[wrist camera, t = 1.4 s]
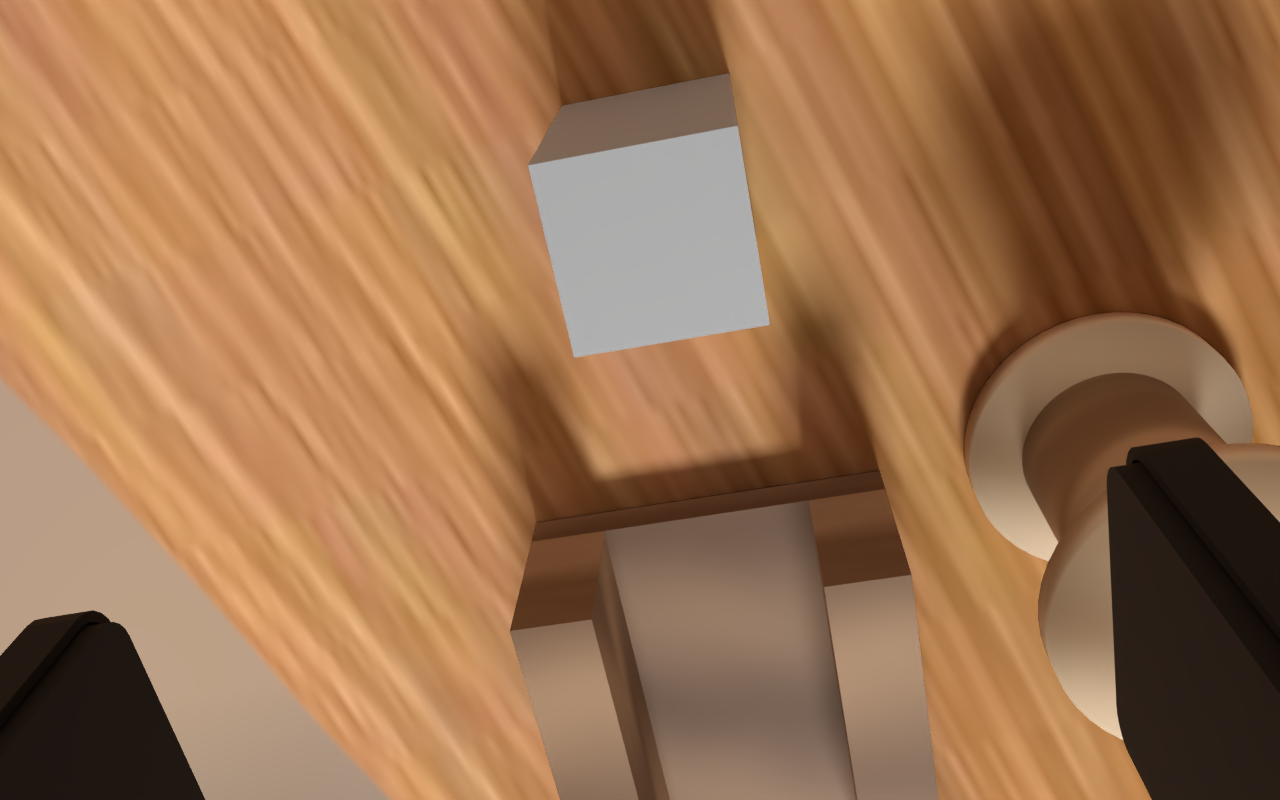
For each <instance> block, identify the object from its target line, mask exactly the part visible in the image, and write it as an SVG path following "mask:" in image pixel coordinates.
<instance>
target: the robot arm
mask: <svg viewBox="0 0 1280 800" xmlns="http://www.w3.org/2000/svg"><path fill="white" fill-rule="evenodd" d="M1107 505H1108V528H1109V550H1110V573H1111V595H1112V618H1113V640H1114V662H1115V685H1116V707H1117V716H1118V721H1119V726H1120V730H1121V734H1122V737H1123V740H1124V743H1125V746H1126V748H1127V751H1128V753H1129V755H1130V757H1131V759H1132V761H1133V763H1134V765H1135V767H1136V769H1137V771H1138V773H1139V775H1140V777H1141V779H1142V781H1143V783H1144V785H1145V787H1146V789H1147V791H1148V793H1149V795H1150V797H1151V799H1152V800H1280V522H1279V521H1278V520H1277V519H1276V518H1275V516H1274V515H1273V514H1272V513H1271V512H1270V511H1269V510H1268V509H1267V508H1266V507H1265V506H1264V505H1263V503H1262V502H1261V501H1260V500H1259V499H1258V498H1257V497H1256V496H1255V495H1254V494H1253V493H1252V492H1251V490H1250V489H1249V488H1248V487H1247V486H1246V485H1245V484H1244V483H1243V482H1242V481H1241V480H1240V479H1239V477H1238V476H1237V475H1236V474H1235V473H1234V472H1233V471H1232V470H1231V469H1230V468H1229V467H1228V466H1227V464H1226V463H1225V462H1224V461H1223V460H1222V459H1221V458H1220V457H1219V456H1218V455H1217V454H1216V453H1215V451H1214V450H1213V449H1212V448H1211V447H1210V446H1209V445H1208V444H1207V443H1206V442H1205V441H1204V440H1202V439H1201V438H1189V439H1182V440H1176V441H1170V442H1163V443H1157V444H1150V445H1144V446H1138V447H1131V449H1130V450H1129V451H1128V454H1127V459H1126V465H1122V466H1115V467H1110V469H1109V470H1108V473H1107ZM0 800H205V798H204V796H203V794H202V792H201V790H200V787H199V785H198V783H197V781H196V779H195V777H194V774H193V772H192V770H191V768H190V766H189V764H188V761H187V759H186V757H185V755H184V753H183V751H182V748H181V746H180V744H179V742H178V740H177V738H176V735H175V733H174V731H173V729H172V727H171V725H170V723H169V720H168V718H167V716H166V714H165V712H164V710H163V707H162V705H161V703H160V701H159V699H158V696H157V694H156V692H155V690H154V688H153V686H152V684H151V681H150V679H149V677H148V675H147V673H146V671H145V668H144V666H143V664H142V662H141V660H140V658H139V655H138V653H137V651H136V649H135V647H134V645H133V642H132V640H131V638H130V636H129V634H128V633H127V631H126V629H125V628H124V627H123V626H121V625H120V624H118V623H115V622H110V621H109V619H108V618H107V617H106V616H104V615H103V614H102V613H100V612H97V611H87V612H80V613H74V614H68V615H62V616H56V617H49V618H43V619H39V620H34V621H33V622H32V623H30V624H29V625H28V626H27V627H26V628H25V629H24V630H23V631H22V632H21V633H20V634H19V636H18V637H17V638H16V639H15V640H14V641H13V642H12V644H11V645H10V646H9V647H8V648H7V649H6V650H5V651H4V653H2V655H1V656H0Z"/></svg>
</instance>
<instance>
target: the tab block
mask: <svg viewBox="0 0 1280 800" xmlns="http://www.w3.org/2000/svg"><path fill="white" fill-rule="evenodd" d="M528 167H529V171H530V175H531V180H532V184H533V188H534V192H535V196H536V200H537V205H538V209H539V213H540V217H541V221H542V225H543V230H544V234H545V238H546V242H547V246H548V250H549V255H550V259H551V263H552V267H553V271H554V275H555V280H556V284H557V288H558V292H559V296H560V300H561V305H562V309H563V313H564V317H565V321H566V325H567V330H568V334H569V338H570V342H571V346H572V350H573V355H574V358H575V357H581V356H587V355H593V354H599V353H605V352H611V351H617V350H623V349H629V348H635V347H641V346H647V345H653V344H659V343H665V342H671V341H677V340H682V339H688V338H694V337H700V336H706V335H712V334H718V333H724V332H730V331H736V330H742V329H748V328H754V327H760V326H766V325H770V323H769V316H768V310H767V304H766V298H765V291H764V285H763V279H762V273H761V266H760V260H759V254H758V248H757V241H756V235H755V229H754V223H753V216H752V210H751V204H750V198H749V192H748V186H747V179H746V173H745V167H744V161H743V155H742V148H741V142H740V136H739V130H738V124H737V117H736V111H735V105H734V99H733V93H732V86H731V80H730V74H729V73H727V74H722V75H717V76H711V77H706V78H701V79H696V80H691V81H686V82H681V83H676V84H670V85H665V86H660V87H655V88H650V89H645V90H640V91H635V92H629V93H624V94H619V95H614V96H609V97H604V98H599V99H594V100H589V101H583V102H578V103H573V104H568V105H563V106H561V108H560V110H559V112H558V113H557V115H556V117H555V119H554V121H553V122H552V124H551V126H550V128H549V129H548V131H547V133H546V135H545V136H544V138H543V140H542V142H541V144H540V145H539V147H538V149H537V151H536V152H535V154H534V156H533V158H532V159H531V161H530V163H529V165H528Z"/></svg>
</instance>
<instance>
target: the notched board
mask: <svg viewBox="0 0 1280 800" xmlns="http://www.w3.org/2000/svg"><path fill="white" fill-rule="evenodd" d="M510 633H511V636H512V639H513V643H514V646H515V650H516V653H517V656H518V660H519V663H520V666H521V670H522V673H523V677H524V680H525V683H526V687H527V690H528V693H529V697H530V700H531V703H532V707H533V710H534V714H535V717H536V720H537V724H538V727H539V730H540V734H541V737H542V740H543V744H544V747H545V751H546V754H547V757H548V761H549V764H550V767H551V771H552V774H553V777H554V781H555V784H556V788H557V791H558V794H559V798H560V800H938V793H937V784H936V776H935V768H934V759H933V751H932V743H931V734H930V726H929V718H928V709H927V701H926V693H925V684H924V676H923V667H922V659H921V651H920V642H919V634H918V626H917V617H916V609H915V601H914V592H913V584H912V576H911V572H910V569H909V565H908V562H907V559H906V556H905V552H904V549H903V546H902V543H901V539H900V536H899V533H898V530H897V526H896V523H895V520H894V516H893V513H892V510H891V507H890V503H889V500H888V497H887V494H886V490H885V487H884V484H883V481H882V477H881V474H880V471H875V472H868V473H862V474H855V475H848V476H842V477H835V478H829V479H822V480H815V481H809V482H802V483H796V484H789V485H782V486H776V487H769V488H762V489H756V490H749V491H743V492H736V493H729V494H723V495H716V496H710V497H703V498H696V499H690V500H683V501H677V502H670V503H663V504H657V505H650V506H643V507H637V508H630V509H624V510H617V511H610V512H604V513H597V514H591V515H584V516H577V517H571V518H564V519H558V520H551V521H544V522H538V523H536V526H535V530H534V534H533V538H532V543H531V547H530V551H529V555H528V559H527V563H526V567H525V571H524V575H523V580H522V584H521V588H520V592H519V596H518V600H517V604H516V608H515V612H514V617H513V621H512V625H511V629H510Z"/></svg>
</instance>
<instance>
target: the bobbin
mask: <svg viewBox="0 0 1280 800" xmlns="http://www.w3.org/2000/svg"><path fill="white" fill-rule="evenodd" d="M1252 434H1253V422H1252V412H1251V407H1250V403H1249V398H1248V396H1247V393H1246V391H1245V388H1244V386H1243V384H1242V382H1241V380H1240V379H1239V377H1238V375H1237V374H1236V372H1235V370H1234V369H1233V368H1232V367H1231V366H1230V365H1229V363H1228V362H1227V361H1226V360H1225V359H1224V358H1223V357H1222V356H1221V355H1220V354H1219V353H1218V352H1217V351H1216V350H1215V349H1214V348H1213V347H1211V346H1210V345H1209V344H1208V343H1207V342H1206V341H1204V340H1203V339H1202V338H1201V337H1200V336H1199V335H1197V334H1195V333H1194V332H1192V331H1191V330H1189V329H1187V328H1186V327H1184V326H1182V325H1179V324H1177V323H1175V322H1172V321H1170V320H1168V319H1164V318H1160V317H1157V316H1153V315H1148V314H1141V313H1134V312H1111V313H1101V314H1094V315H1089V316H1085V317H1080V318H1076V319H1073V320H1070V321H1067V322H1064V323H1062V324H1059V325H1056V326H1054V327H1052V328H1050V329H1048V330H1046V331H1044V332H1042V333H1040V334H1038V335H1037V336H1035V337H1034V338H1032V339H1030V340H1029V341H1027V342H1026V343H1024V344H1023V345H1022V346H1020V347H1019V348H1018V349H1017V350H1015V351H1014V352H1013V353H1012V354H1010V355H1009V356H1008V357H1007V358H1006V359H1005V360H1004V361H1003V362H1002V363H1001V364H1000V365H999V366H998V367H997V368H996V370H995V371H994V372H993V374H992V375H991V376H990V377H989V379H988V380H987V381H986V383H985V384H984V386H983V388H982V389H981V391H980V393H979V394H978V396H977V398H976V401H975V403H974V405H973V408H972V410H971V412H970V416H969V420H968V423H967V427H966V434H965V441H964V454H965V463H966V469H967V474H968V477H969V480H970V483H971V486H972V488H973V491H974V493H975V495H976V497H977V499H978V502H979V504H980V505H981V507H982V509H983V511H984V513H985V515H986V516H987V518H988V519H989V520H990V522H991V523H992V525H993V526H994V527H995V528H996V529H997V530H998V531H999V532H1000V533H1001V534H1002V535H1003V536H1004V537H1005V538H1006V539H1007V540H1009V541H1010V542H1011V543H1013V544H1014V545H1016V546H1017V547H1018V548H1020V549H1022V550H1024V551H1026V552H1028V553H1029V554H1031V555H1034V556H1036V557H1039V558H1041V559H1044V560H1046V561H1049V562H1048V564H1047V567H1046V570H1045V573H1044V576H1043V579H1042V583H1041V588H1040V594H1039V600H1038V621H1039V628H1040V634H1041V638H1042V641H1043V644H1044V647H1045V650H1046V653H1047V655H1048V658H1049V660H1050V662H1051V664H1052V667H1053V669H1054V671H1055V673H1056V676H1057V678H1058V679H1059V681H1060V683H1061V685H1062V687H1063V689H1064V691H1065V693H1066V694H1067V695H1068V697H1069V698H1070V699H1071V701H1072V702H1073V703H1074V705H1075V706H1076V707H1077V708H1078V709H1079V710H1080V711H1081V712H1082V713H1083V714H1084V715H1085V716H1086V717H1087V718H1088V719H1089V720H1091V721H1092V722H1094V723H1095V724H1096V725H1098V726H1099V727H1101V728H1102V729H1103V730H1105V731H1107V732H1108V733H1110V734H1112V735H1114V736H1116V737H1118V738H1120V739H1122V740H1123V737H1122V734H1121V730H1120V726H1119V721H1118V716H1117V707H1116V685H1115V662H1114V640H1113V618H1112V595H1111V573H1110V550H1109V528H1108V505H1107V473H1108V470H1109V469H1110V467H1115V466H1122V465H1126V459H1127V454H1128V451H1129V450H1130V449H1131V447H1138V446H1144V445H1150V444H1157V443H1163V442H1170V441H1176V440H1182V439H1189V438H1201V439H1202V440H1204V441H1205V442H1206V443H1207V444H1208V445H1209V446H1210V447H1211V448H1212V449H1213V450H1214V451H1215V453H1216V454H1217V455H1218V456H1219V457H1220V458H1221V459H1222V460H1223V461H1224V462H1225V463H1226V464H1227V466H1228V467H1229V468H1230V469H1231V470H1232V471H1233V472H1234V473H1235V474H1236V475H1237V476H1238V477H1239V479H1240V480H1241V481H1242V482H1243V483H1244V484H1245V485H1246V486H1247V487H1248V488H1249V489H1250V490H1251V492H1252V493H1253V494H1254V495H1255V496H1256V497H1257V498H1258V499H1259V500H1260V501H1261V502H1262V503H1263V505H1264V506H1265V507H1266V508H1267V509H1268V510H1269V511H1270V512H1271V513H1272V514H1273V515H1274V516H1275V518H1276V519H1277V520H1278V521H1279V522H1280V446H1276V445H1269V444H1256V443H1252Z"/></svg>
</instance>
